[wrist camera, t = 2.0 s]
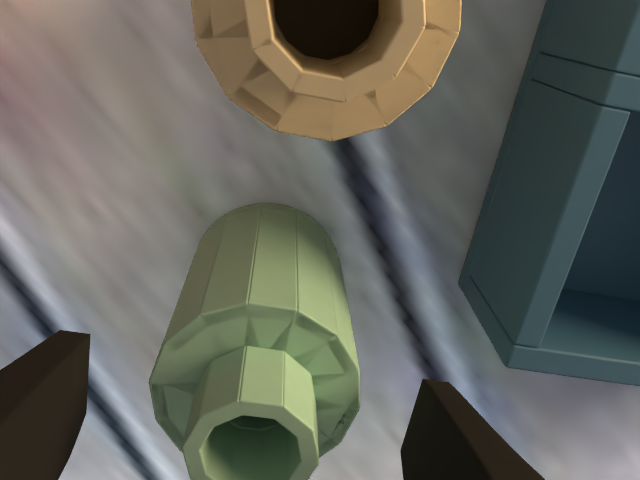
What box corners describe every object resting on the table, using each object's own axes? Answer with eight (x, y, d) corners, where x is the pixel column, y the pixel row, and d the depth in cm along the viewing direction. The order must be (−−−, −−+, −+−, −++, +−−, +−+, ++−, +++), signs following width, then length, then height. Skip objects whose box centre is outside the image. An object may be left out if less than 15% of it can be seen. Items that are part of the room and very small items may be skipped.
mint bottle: (325, 341, 20) (345, 553, 12) (185, 322, 19) (119, 530, 12) (354, 216, 18) (397, 373, 11) (201, 191, 17) (135, 337, 10)
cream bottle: (380, 101, 17) (450, 189, 9) (216, 69, 16) (152, 137, 9) (420, -77, 15) (545, -142, 8) (239, -118, 14) (184, -230, 7)
